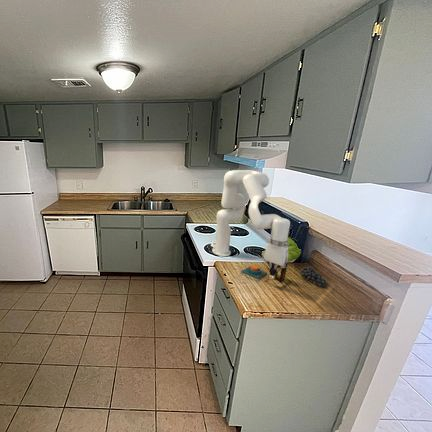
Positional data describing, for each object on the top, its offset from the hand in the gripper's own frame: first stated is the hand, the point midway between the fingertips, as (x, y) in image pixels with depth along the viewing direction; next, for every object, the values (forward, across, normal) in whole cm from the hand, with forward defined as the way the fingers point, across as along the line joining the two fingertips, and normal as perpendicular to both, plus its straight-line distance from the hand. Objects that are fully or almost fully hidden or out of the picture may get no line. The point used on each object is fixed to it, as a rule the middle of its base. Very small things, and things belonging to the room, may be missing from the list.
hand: (272, 274), depth 127 cm
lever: (+1, 0, -5) cm, 5 cm away
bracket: (+8, 0, -9) cm, 12 cm away
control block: (+8, +12, -5) cm, 15 cm away
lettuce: (+8, +12, -39) cm, 42 cm away
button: (+4, +12, -5) cm, 14 cm away
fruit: (+8, -13, -22) cm, 27 cm away
